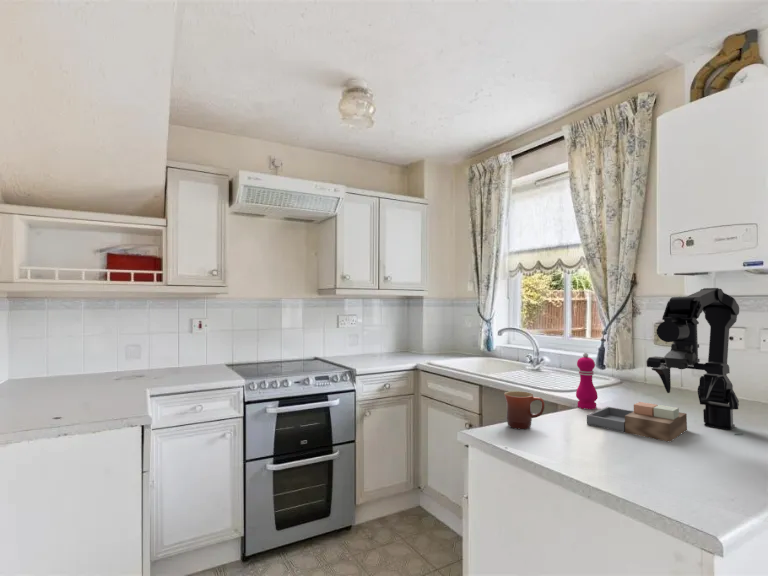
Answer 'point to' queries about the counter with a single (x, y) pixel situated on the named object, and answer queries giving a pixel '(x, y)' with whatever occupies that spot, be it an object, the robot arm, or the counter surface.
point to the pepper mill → (586, 383)
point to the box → (609, 418)
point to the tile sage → (666, 412)
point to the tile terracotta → (644, 408)
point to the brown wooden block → (655, 426)
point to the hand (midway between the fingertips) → (686, 395)
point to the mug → (521, 409)
